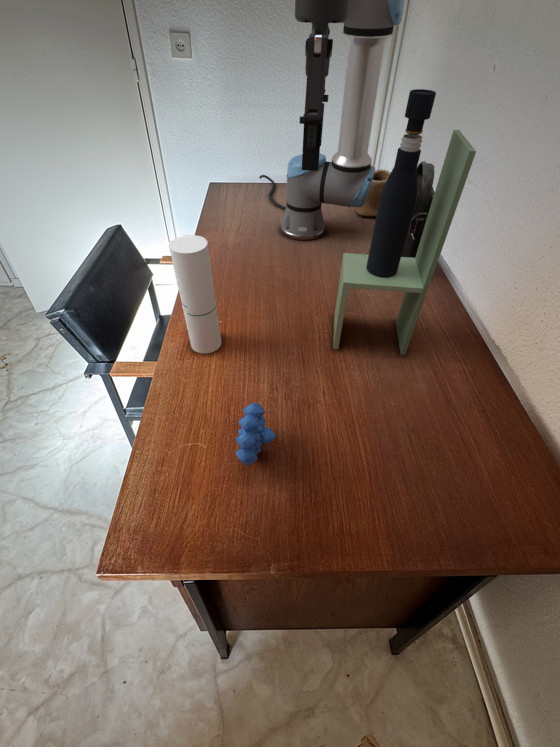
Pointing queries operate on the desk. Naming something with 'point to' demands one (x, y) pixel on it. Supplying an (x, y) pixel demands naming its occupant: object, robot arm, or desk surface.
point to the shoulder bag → (420, 208)
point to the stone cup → (374, 194)
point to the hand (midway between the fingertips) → (312, 156)
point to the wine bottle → (399, 191)
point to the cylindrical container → (196, 291)
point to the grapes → (252, 434)
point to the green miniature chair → (420, 269)
